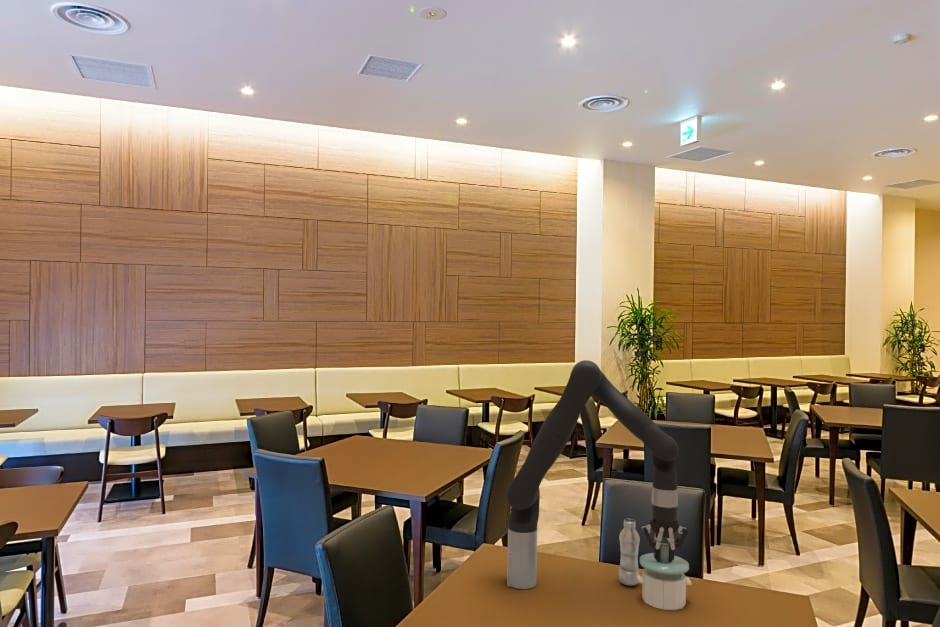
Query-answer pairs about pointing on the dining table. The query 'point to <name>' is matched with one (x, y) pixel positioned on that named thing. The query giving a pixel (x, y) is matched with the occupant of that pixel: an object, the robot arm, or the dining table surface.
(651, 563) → the lid
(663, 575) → the pot
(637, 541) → the plastic bottle
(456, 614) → the dining table surface
